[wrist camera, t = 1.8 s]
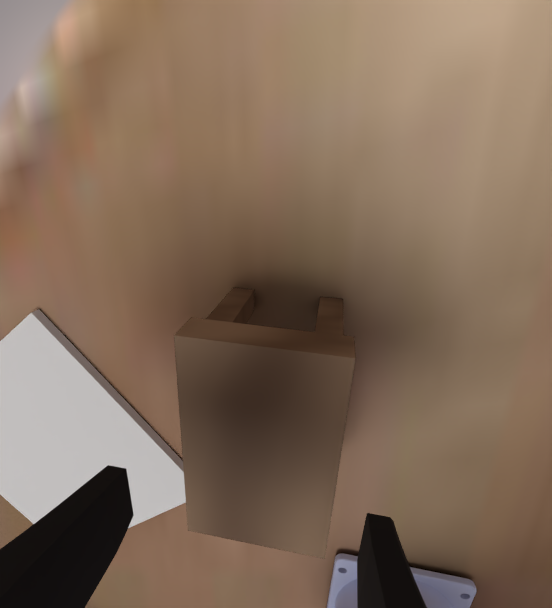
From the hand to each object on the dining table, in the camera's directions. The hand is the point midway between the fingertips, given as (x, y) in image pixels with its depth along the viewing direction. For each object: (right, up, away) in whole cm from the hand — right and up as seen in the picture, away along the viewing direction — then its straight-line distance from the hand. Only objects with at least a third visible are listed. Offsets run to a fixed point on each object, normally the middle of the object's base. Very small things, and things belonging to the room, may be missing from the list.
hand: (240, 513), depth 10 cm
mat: (-13, -3, +12) cm, 18 cm away
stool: (+1, +3, +7) cm, 8 cm away
